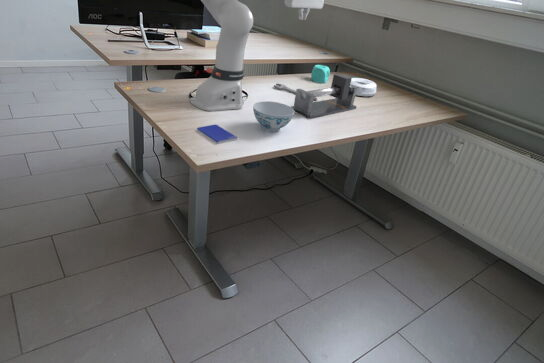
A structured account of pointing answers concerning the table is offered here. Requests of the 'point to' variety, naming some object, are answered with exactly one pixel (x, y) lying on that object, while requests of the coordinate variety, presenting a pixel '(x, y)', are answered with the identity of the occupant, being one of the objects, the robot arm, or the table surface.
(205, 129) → the hard drive
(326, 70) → the decorative dice
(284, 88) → the adjustable wrench
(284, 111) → the chinaware
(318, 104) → the pipe stand
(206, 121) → the table surface
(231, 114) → the table surface
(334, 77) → the dark grey upright block
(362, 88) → the cable
